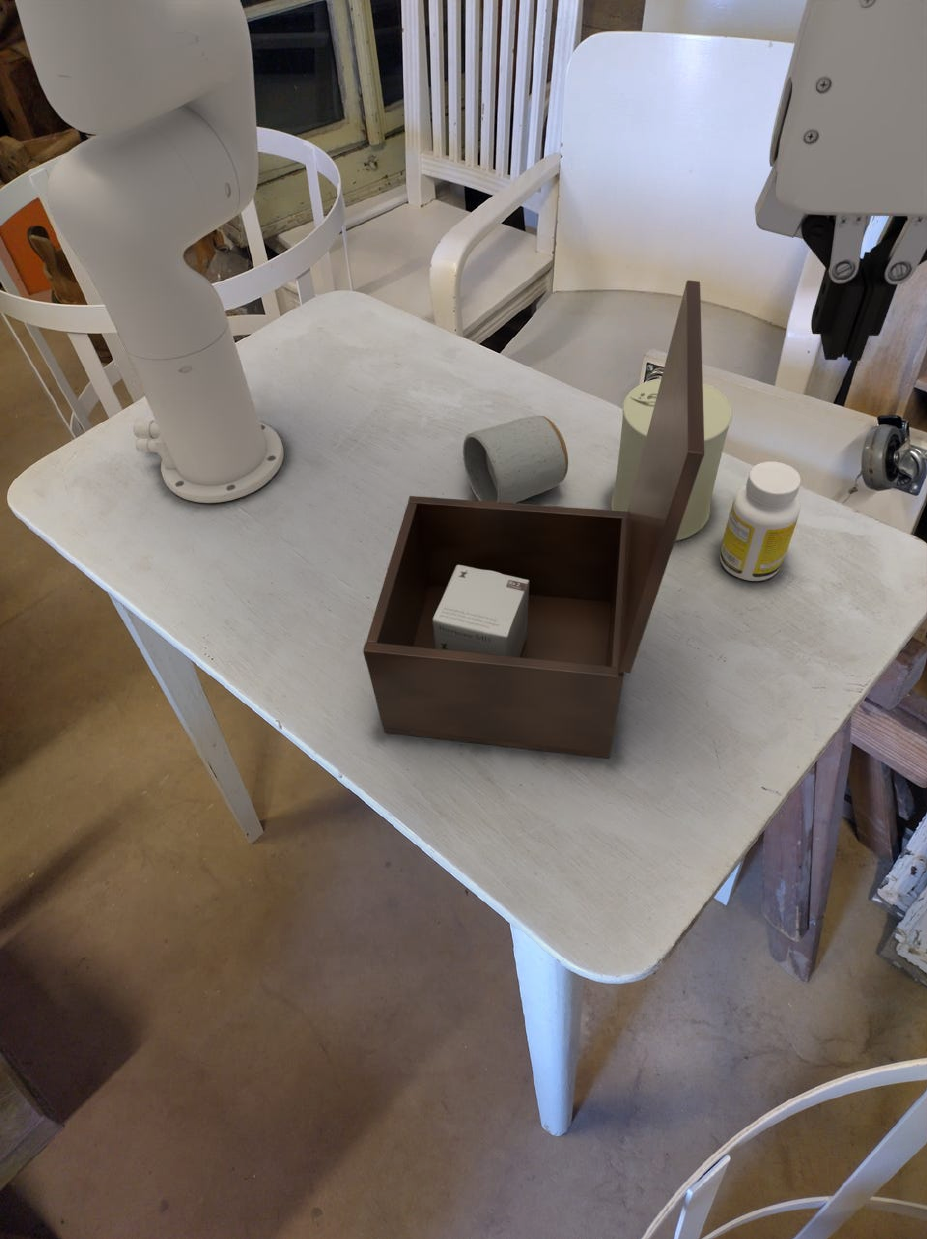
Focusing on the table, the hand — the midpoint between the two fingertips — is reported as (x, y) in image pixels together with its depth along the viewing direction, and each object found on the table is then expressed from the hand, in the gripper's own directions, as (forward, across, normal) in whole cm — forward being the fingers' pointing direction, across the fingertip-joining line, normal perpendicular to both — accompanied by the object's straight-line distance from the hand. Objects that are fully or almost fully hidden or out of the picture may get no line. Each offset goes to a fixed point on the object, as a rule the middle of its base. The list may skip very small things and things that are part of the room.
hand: (838, 344), depth 41 cm
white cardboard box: (+30, +20, 0) cm, 36 cm away
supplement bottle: (+31, -2, -14) cm, 34 cm away
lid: (+10, +8, 0) cm, 13 cm away
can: (+31, +6, -20) cm, 37 cm away
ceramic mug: (+31, +21, -22) cm, 43 cm away
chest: (+31, +18, 0) cm, 35 cm away
